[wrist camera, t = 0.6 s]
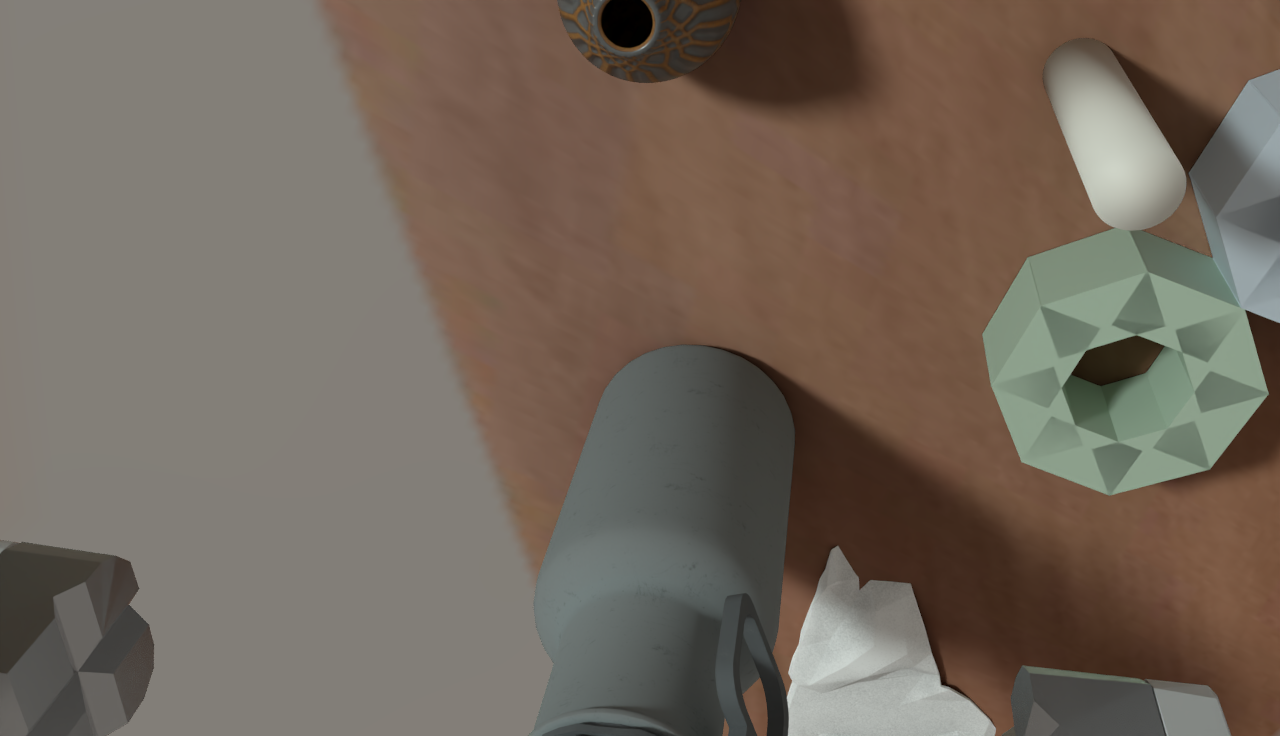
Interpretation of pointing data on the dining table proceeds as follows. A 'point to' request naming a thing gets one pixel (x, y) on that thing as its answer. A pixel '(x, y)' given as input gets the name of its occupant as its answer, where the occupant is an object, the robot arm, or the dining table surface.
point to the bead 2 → (1245, 196)
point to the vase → (648, 34)
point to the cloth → (871, 666)
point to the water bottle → (670, 554)
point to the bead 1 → (1134, 407)
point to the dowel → (1112, 137)
